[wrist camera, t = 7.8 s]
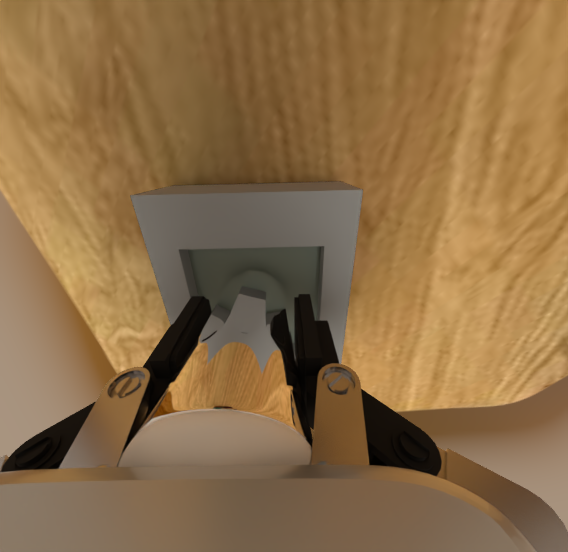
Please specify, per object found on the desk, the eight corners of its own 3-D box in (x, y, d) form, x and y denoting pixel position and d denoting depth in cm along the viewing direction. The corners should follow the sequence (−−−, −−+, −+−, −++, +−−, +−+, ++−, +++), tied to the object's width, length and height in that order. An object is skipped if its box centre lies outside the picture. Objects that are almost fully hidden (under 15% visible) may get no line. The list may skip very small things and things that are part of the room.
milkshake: (231, 343, 14) (149, 655, 5) (201, 266, 12) (-45, 605, 3) (304, 332, 14) (347, 645, 5) (289, 250, 11) (319, 579, 3)
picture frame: (172, 185, 14) (130, 195, 10) (340, 181, 14) (362, 189, 10) (207, 339, 19) (189, 384, 15) (327, 337, 19) (338, 381, 15)
